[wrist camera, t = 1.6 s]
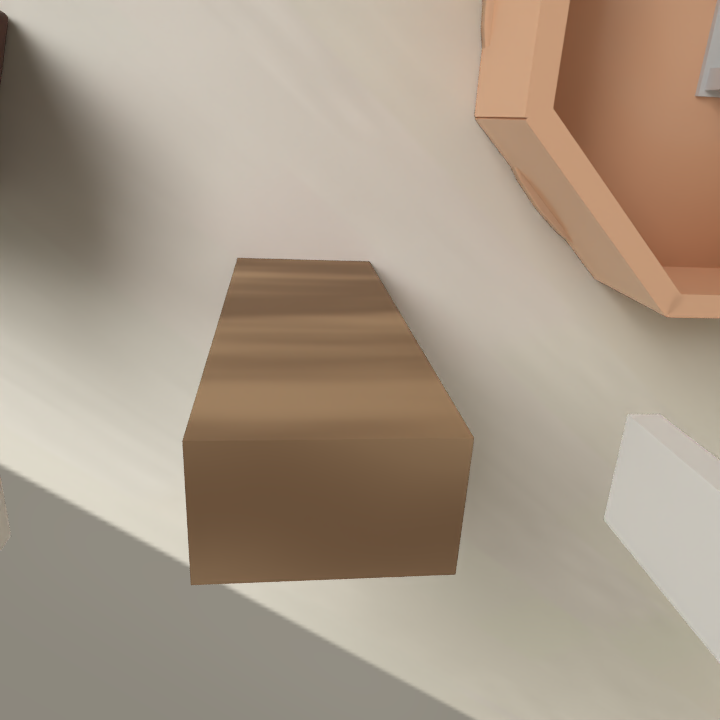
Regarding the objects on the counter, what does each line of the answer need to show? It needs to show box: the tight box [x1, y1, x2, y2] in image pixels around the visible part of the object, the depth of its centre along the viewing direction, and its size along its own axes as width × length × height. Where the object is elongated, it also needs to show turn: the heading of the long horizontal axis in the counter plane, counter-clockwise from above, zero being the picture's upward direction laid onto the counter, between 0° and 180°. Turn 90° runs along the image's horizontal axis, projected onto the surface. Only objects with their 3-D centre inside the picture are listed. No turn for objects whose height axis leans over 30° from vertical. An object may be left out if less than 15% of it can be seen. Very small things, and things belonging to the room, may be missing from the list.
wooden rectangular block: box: [182, 258, 474, 585], centre depth 18 cm, size 3×5×14 cm, turn 87°
